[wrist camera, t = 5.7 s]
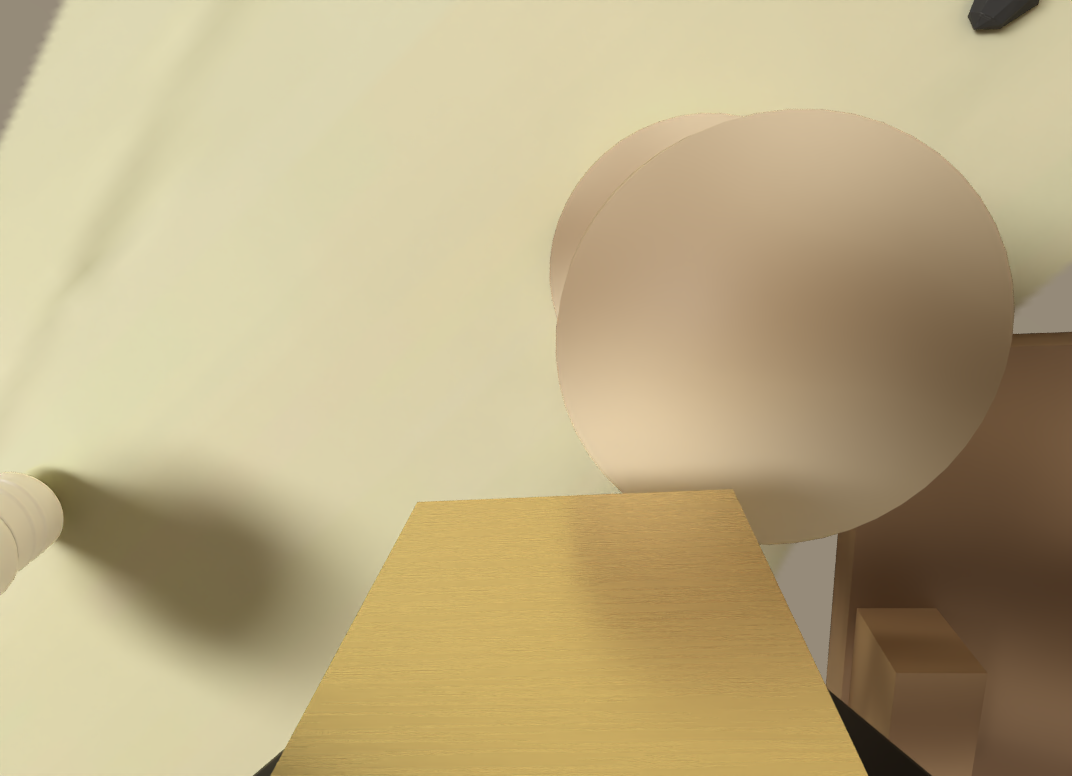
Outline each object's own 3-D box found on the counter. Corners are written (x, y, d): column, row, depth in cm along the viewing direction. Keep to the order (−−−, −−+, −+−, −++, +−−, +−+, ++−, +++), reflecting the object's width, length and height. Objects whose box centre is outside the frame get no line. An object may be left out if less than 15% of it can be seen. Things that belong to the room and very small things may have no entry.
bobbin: (828, 397, 18) (1014, 572, 10) (558, 404, 19) (534, 576, 11) (849, 106, 16) (1100, 42, 8) (544, 126, 17) (502, 84, 9)
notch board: (1165, 786, 21) (1282, 912, 17) (818, 779, 22) (862, 898, 18) (1286, 324, 17) (1473, 365, 13) (853, 339, 18) (918, 382, 14)
